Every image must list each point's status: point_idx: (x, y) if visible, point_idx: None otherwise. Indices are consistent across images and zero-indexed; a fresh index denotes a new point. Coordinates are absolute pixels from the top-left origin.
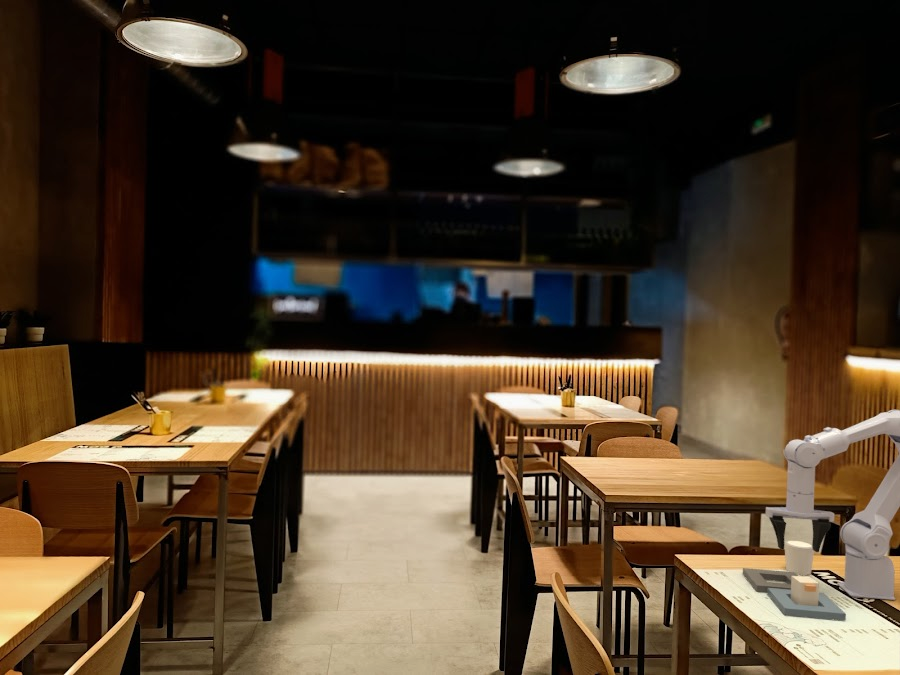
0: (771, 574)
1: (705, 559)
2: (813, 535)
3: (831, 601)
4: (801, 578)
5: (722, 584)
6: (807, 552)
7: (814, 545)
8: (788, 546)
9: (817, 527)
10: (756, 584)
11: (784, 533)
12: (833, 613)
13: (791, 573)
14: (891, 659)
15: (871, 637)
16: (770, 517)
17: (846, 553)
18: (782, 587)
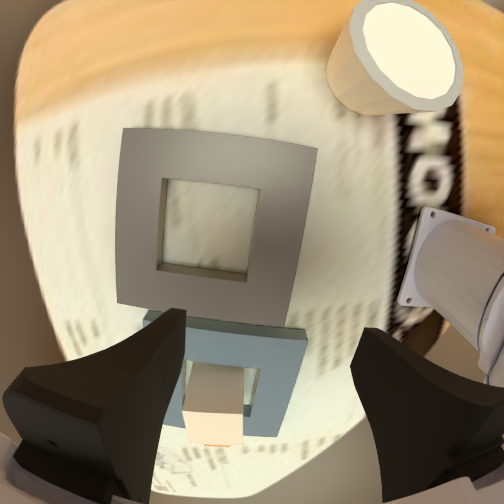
0: (207, 181)
1: (80, 22)
2: (404, 368)
3: (288, 391)
4: (206, 425)
5: (52, 244)
6: (415, 110)
7: (366, 365)
8: (352, 54)
9: (402, 467)
10: (117, 296)
11: (159, 437)
12: (252, 434)
13: (298, 164)
14: (261, 490)
15: (279, 460)
16: (27, 433)
17: (485, 302)
18: (191, 314)
